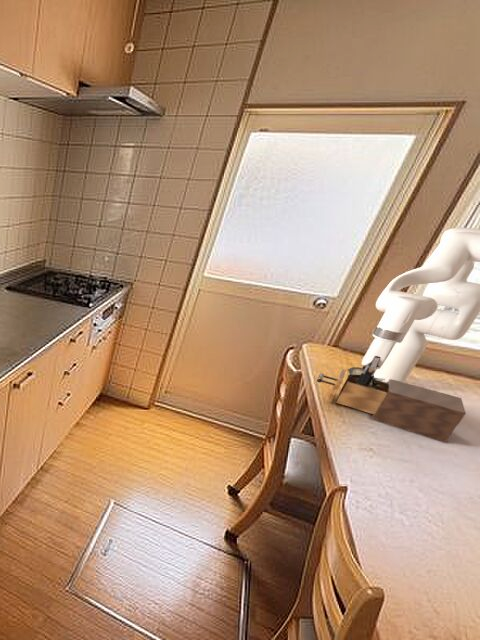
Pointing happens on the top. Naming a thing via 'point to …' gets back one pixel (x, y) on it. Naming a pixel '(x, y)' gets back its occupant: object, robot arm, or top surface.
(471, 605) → the top surface
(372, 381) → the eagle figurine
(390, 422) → the cabinet
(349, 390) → the drawer
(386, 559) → the top surface
